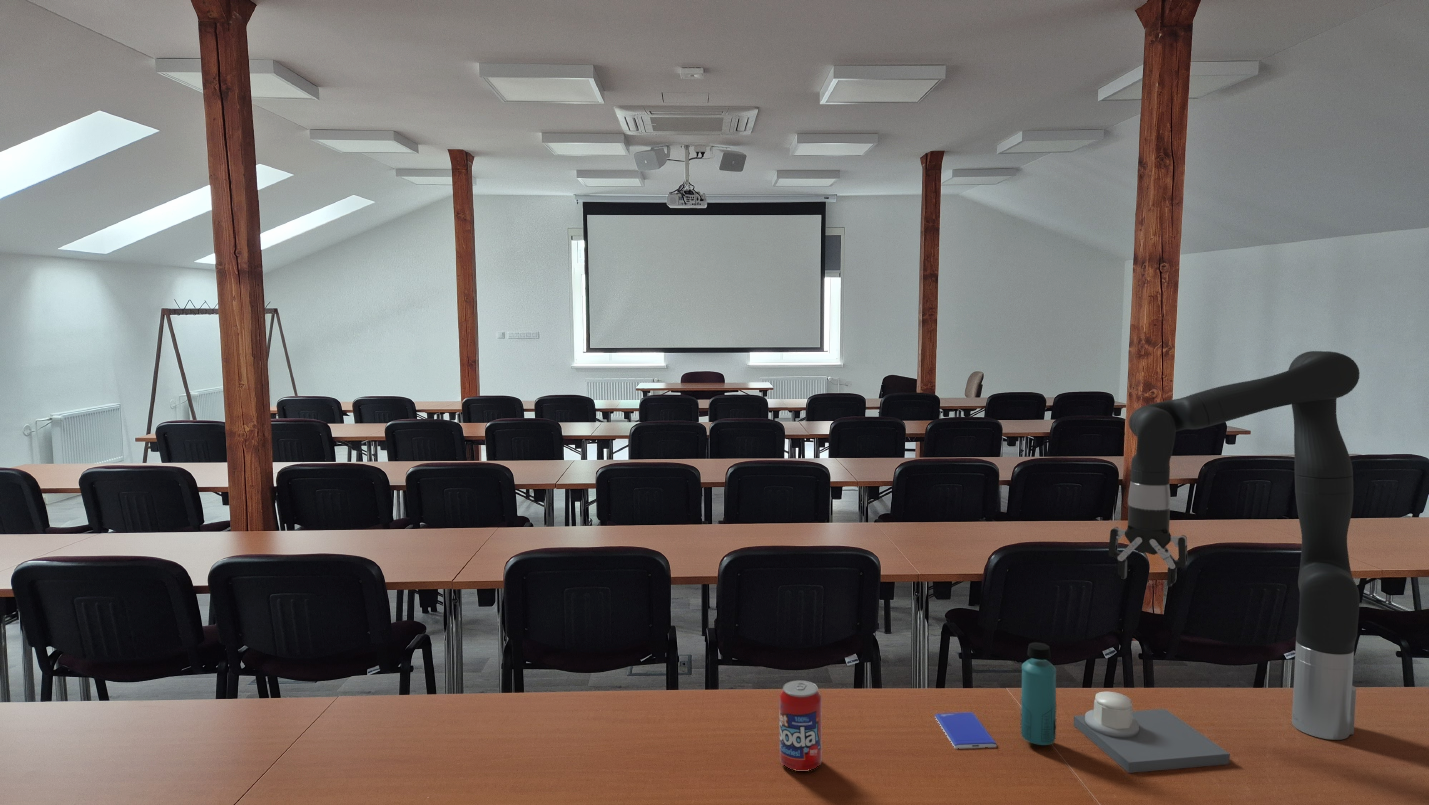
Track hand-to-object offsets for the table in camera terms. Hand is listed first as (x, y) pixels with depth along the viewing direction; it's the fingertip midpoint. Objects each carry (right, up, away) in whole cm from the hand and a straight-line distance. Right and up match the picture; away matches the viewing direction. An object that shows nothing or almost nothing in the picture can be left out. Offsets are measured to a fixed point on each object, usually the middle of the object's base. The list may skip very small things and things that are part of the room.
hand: (1146, 581), depth 169 cm
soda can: (-73, -31, -15) cm, 81 cm away
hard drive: (-39, -30, -4) cm, 49 cm away
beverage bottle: (-26, -30, -10) cm, 41 cm away
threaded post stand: (-5, -29, -10) cm, 31 cm away
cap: (-10, -26, -7) cm, 29 cm away
